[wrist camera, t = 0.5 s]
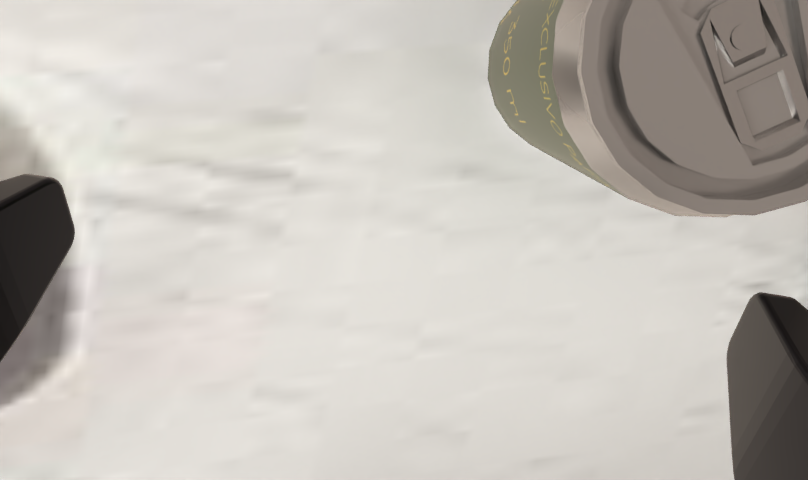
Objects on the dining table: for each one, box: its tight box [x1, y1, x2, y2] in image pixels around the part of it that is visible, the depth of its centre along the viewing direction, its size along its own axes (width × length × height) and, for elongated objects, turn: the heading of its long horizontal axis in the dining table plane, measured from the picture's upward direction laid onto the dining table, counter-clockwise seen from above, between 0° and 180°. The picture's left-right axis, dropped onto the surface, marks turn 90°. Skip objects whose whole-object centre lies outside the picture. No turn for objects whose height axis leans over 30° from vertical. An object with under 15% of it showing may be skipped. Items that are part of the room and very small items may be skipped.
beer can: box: [488, 0, 808, 217], centre depth 16 cm, size 5×5×12 cm
